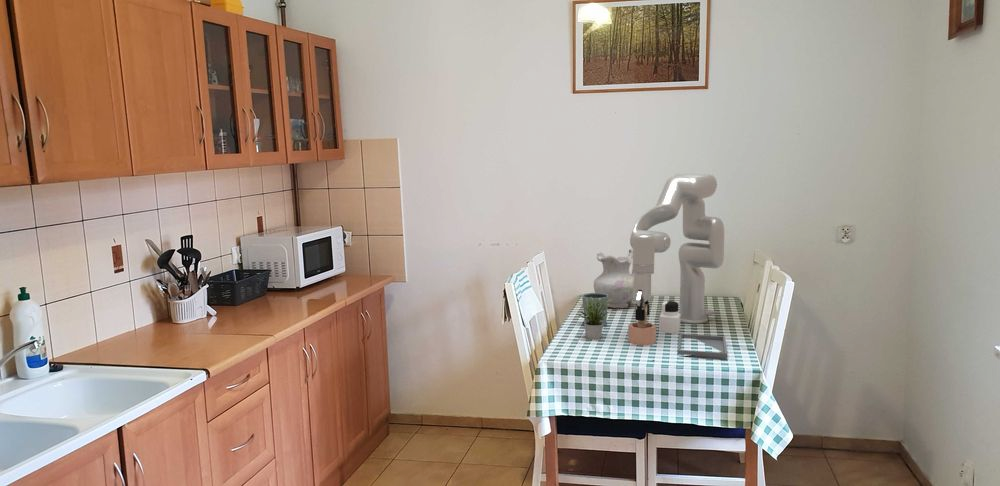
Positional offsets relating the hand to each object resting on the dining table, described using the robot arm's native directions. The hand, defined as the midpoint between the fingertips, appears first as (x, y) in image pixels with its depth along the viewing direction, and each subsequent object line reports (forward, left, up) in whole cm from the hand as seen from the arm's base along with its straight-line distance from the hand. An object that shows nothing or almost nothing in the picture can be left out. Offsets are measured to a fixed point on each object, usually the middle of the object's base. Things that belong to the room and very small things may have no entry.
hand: (642, 317), depth 258 cm
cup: (0, 0, -10) cm, 10 cm away
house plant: (+13, -10, -10) cm, 19 cm away
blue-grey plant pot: (+5, -31, -10) cm, 33 cm away
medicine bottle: (-17, -11, -10) cm, 23 cm away
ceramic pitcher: (-18, -60, -10) cm, 64 cm away
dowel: (0, 0, -9) cm, 9 cm away
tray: (-17, +12, -10) cm, 23 cm away
